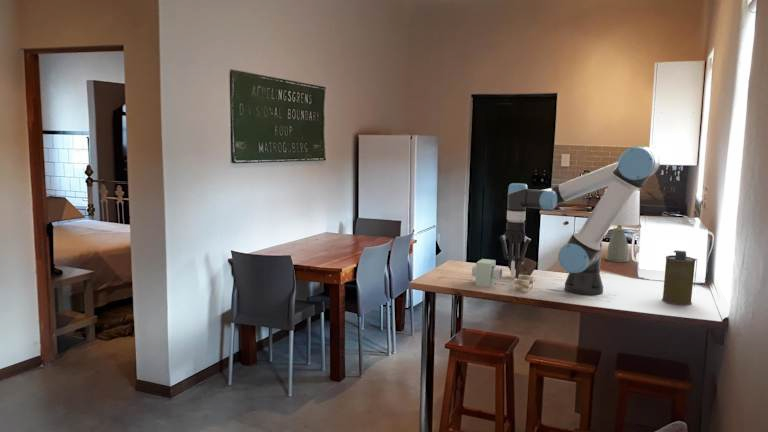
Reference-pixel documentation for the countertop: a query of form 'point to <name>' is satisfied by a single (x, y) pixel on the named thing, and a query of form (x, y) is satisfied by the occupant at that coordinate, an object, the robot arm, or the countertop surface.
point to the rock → (524, 267)
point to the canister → (679, 279)
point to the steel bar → (495, 272)
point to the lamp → (625, 218)
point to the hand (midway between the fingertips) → (512, 276)
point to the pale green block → (484, 272)
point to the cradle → (523, 283)
